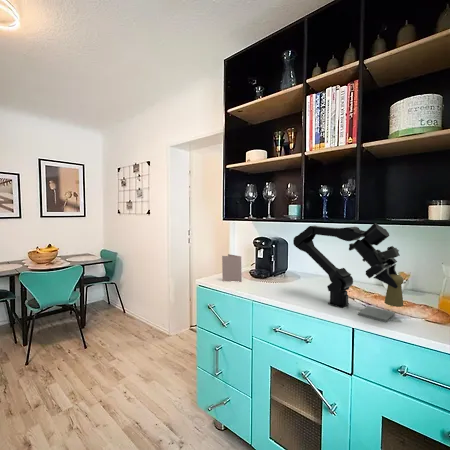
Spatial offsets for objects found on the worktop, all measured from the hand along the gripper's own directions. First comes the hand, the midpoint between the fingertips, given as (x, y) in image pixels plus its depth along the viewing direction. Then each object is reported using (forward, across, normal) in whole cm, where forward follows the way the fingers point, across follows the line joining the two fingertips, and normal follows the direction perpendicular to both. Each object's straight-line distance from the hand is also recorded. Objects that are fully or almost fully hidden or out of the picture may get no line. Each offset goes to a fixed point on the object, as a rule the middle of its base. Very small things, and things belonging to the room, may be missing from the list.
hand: (398, 286), depth 98 cm
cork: (+4, 0, +6) cm, 7 cm away
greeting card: (-48, -5, +70) cm, 85 cm away
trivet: (+4, 0, +14) cm, 15 cm away
